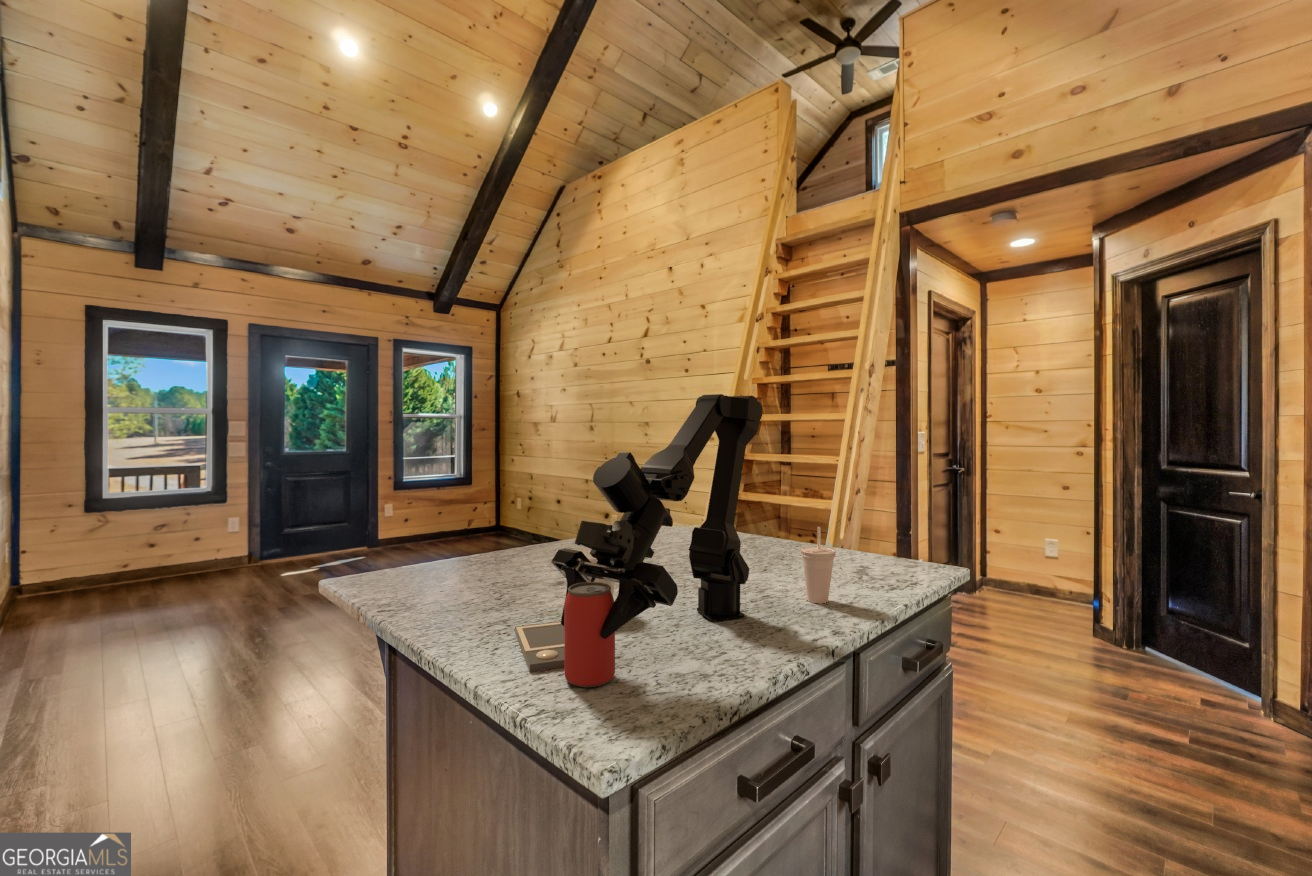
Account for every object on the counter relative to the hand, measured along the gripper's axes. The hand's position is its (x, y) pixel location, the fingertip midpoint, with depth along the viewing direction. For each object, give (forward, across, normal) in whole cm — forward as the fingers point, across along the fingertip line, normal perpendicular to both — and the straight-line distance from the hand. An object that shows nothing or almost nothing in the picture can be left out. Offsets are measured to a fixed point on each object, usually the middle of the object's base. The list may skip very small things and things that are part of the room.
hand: (582, 631), depth 76 cm
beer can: (+4, 0, +6) cm, 7 cm away
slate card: (0, -12, +10) cm, 15 cm away
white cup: (-12, -20, +22) cm, 32 cm away
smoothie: (-32, +11, +42) cm, 54 cm away
